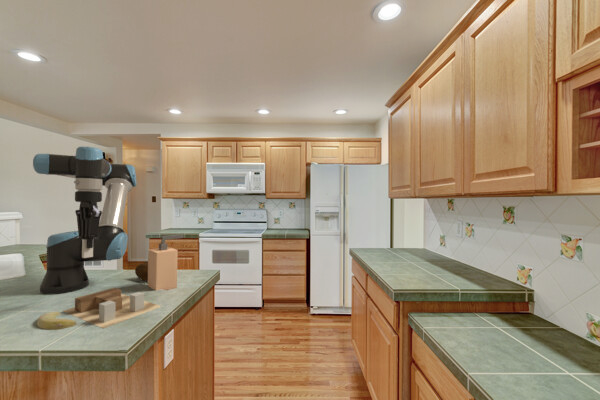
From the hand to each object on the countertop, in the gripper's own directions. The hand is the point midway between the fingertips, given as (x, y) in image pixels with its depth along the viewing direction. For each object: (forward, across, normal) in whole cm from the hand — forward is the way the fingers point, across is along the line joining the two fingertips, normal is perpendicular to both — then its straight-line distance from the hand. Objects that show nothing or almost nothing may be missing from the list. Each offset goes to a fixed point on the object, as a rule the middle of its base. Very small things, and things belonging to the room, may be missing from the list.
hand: (87, 257), depth 94 cm
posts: (+16, +22, 0) cm, 27 cm away
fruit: (+17, +10, -12) cm, 23 cm away
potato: (+17, -8, +28) cm, 34 cm away
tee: (+16, +12, 0) cm, 20 cm away
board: (+17, +15, +1) cm, 22 cm away
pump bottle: (+17, +8, +26) cm, 32 cm away
